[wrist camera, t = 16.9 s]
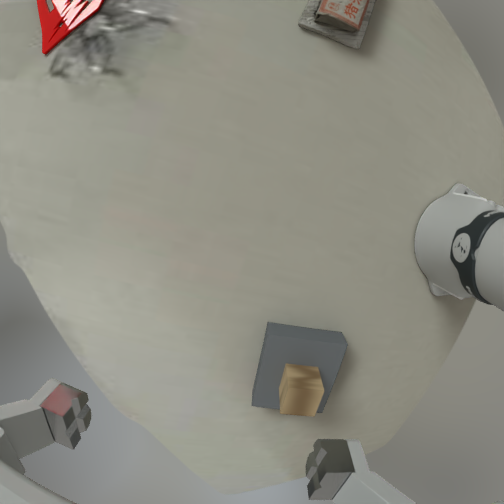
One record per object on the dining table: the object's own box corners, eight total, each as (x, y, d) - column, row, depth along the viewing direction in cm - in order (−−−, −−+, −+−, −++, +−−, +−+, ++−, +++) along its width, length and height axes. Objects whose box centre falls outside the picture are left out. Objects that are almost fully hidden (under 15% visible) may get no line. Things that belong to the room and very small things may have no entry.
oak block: (318, 367, 43) (324, 390, 37) (309, 391, 44) (314, 416, 38) (285, 363, 43) (288, 387, 37) (278, 388, 44) (280, 413, 38)
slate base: (341, 332, 46) (347, 344, 42) (318, 398, 49) (321, 412, 45) (267, 322, 46) (268, 334, 42) (252, 391, 49) (251, 405, 45)
